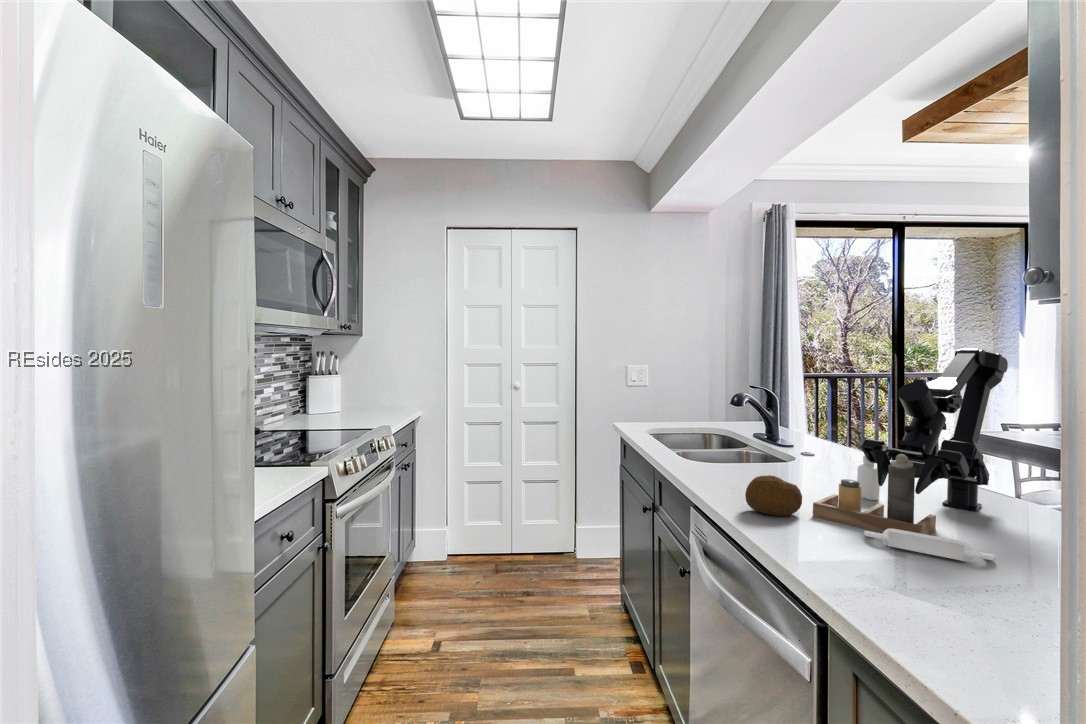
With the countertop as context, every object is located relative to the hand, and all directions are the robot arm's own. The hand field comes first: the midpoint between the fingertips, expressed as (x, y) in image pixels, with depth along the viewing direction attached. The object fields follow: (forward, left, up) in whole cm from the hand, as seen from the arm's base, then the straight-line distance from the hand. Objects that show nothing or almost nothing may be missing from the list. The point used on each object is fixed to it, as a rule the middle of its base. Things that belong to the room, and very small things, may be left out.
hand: (897, 488), depth 108 cm
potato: (+11, -21, -9) cm, 25 cm away
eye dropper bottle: (-21, -12, -9) cm, 26 cm away
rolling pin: (+9, +7, -9) cm, 14 cm away
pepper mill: (-1, 0, -9) cm, 9 cm away
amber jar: (-1, -10, -9) cm, 13 cm away
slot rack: (-1, -5, -9) cm, 10 cm away
